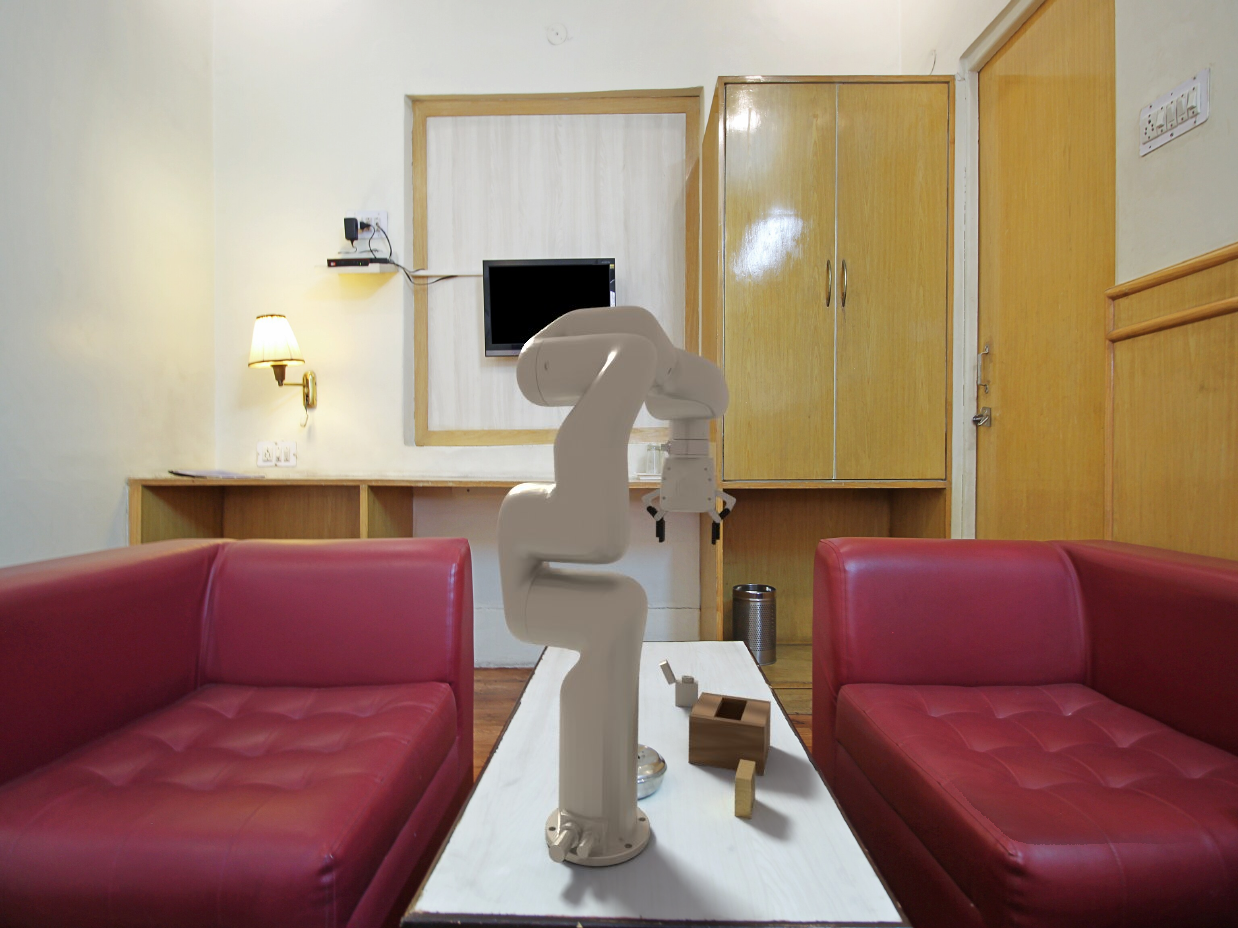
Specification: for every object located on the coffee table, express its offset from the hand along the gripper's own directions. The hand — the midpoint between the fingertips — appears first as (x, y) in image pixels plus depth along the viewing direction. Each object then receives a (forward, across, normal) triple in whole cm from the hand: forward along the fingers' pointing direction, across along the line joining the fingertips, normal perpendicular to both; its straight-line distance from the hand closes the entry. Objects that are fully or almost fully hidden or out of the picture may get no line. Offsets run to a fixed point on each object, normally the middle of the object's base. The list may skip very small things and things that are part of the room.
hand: (687, 542), depth 114 cm
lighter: (+30, -1, 0) cm, 30 cm away
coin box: (+30, +9, -18) cm, 36 cm away
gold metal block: (+30, +11, -32) cm, 45 cm away
